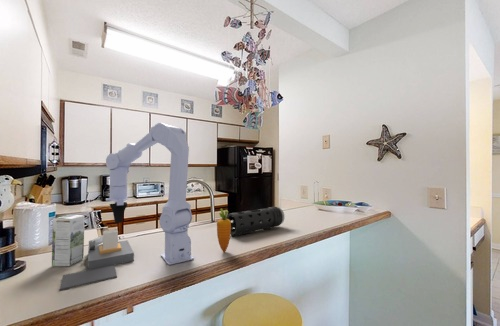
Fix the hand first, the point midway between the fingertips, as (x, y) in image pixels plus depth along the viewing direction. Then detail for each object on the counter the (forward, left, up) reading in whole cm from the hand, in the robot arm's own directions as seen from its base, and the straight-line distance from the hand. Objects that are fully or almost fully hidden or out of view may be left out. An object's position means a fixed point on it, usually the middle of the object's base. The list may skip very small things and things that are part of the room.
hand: (118, 222), depth 87 cm
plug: (-9, +3, -9) cm, 13 cm away
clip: (-1, +5, -7) cm, 8 cm away
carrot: (-27, -30, -10) cm, 41 cm away
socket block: (-9, +3, -9) cm, 13 cm away
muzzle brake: (-12, -55, -10) cm, 57 cm away
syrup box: (-7, +14, -10) cm, 18 cm away
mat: (-23, +9, -9) cm, 26 cm away
